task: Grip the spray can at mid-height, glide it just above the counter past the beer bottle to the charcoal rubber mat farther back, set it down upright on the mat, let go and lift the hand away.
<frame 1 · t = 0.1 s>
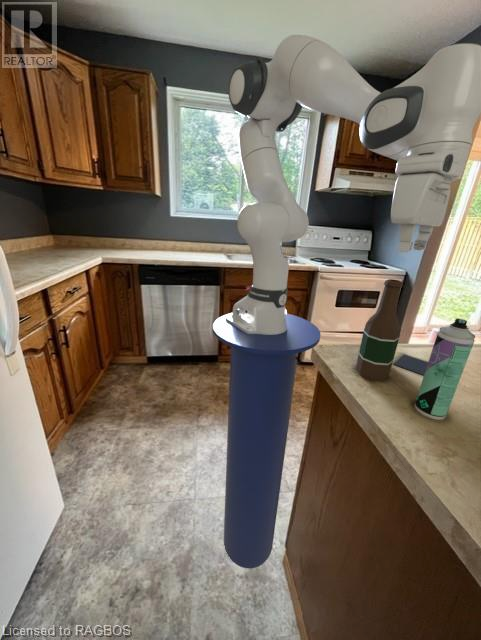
hand: (411, 250, 51), 31 cm above the countertop, tool pointing down, fingers open, 8 cm apart
sprinkles bottle: (376, 361, 76), on the countertop
mat: (418, 366, 74), on the countertop
beer bottle: (371, 373, 69), on the countertop
spray can: (429, 411, 56), on the countertop
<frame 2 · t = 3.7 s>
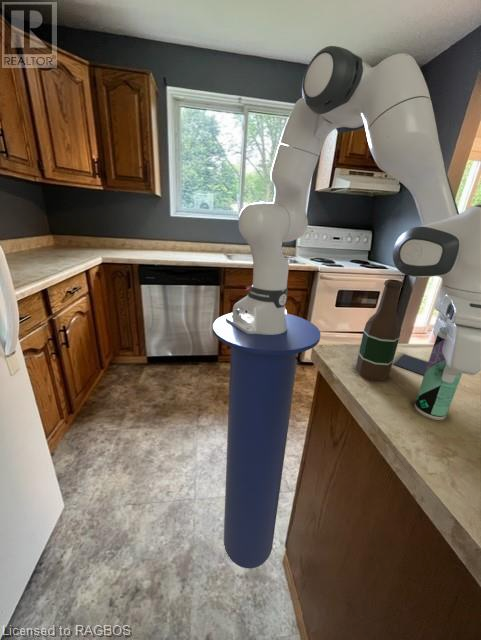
hand: (442, 372, 53), 9 cm above the countertop, tool pointing down, fingers closed on spray can, 5 cm apart
spray can: (429, 411, 56), on the countertop, touching gripper
everything else where it was.
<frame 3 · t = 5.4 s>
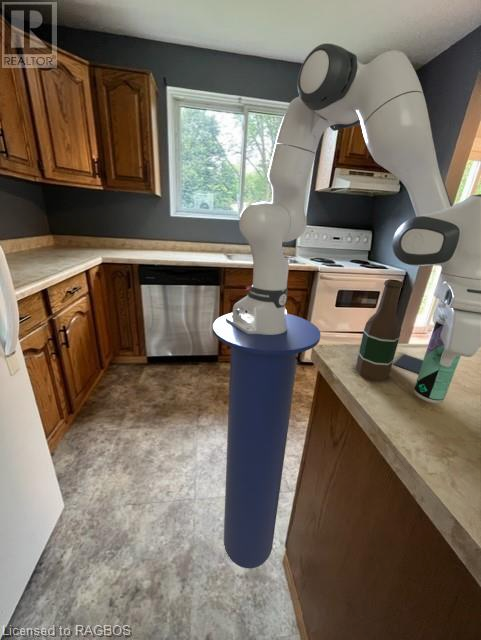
hand: (441, 357, 55), 11 cm above the countertop, tool pointing down, fingers closed on spray can, 5 cm apart
spray can: (427, 396, 58), point 2 cm above the countertop, touching gripper
everything else where it was.
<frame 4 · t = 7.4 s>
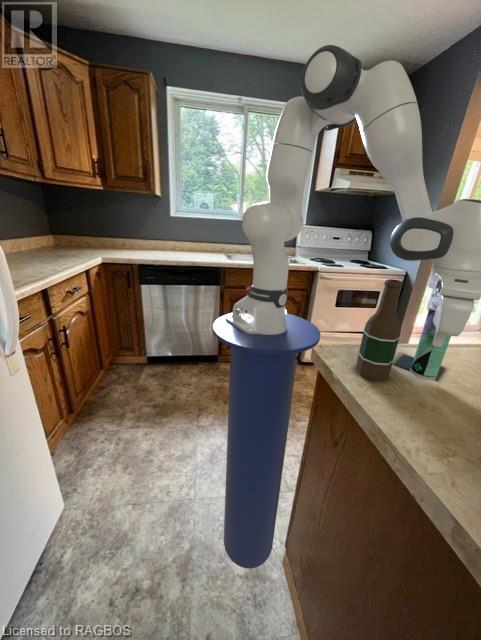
hand: (434, 340, 63), 11 cm above the countertop, tool pointing down, fingers closed on spray can, 5 cm apart
spray can: (422, 374, 66), point 2 cm above the countertop, touching gripper
everything else where it was.
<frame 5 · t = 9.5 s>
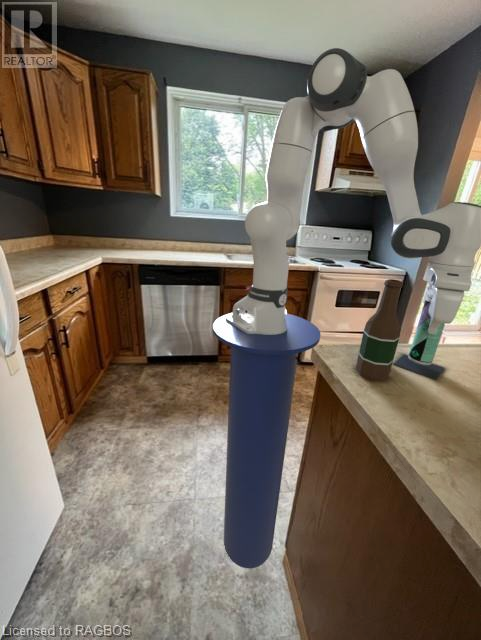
hand: (429, 328, 70), 11 cm above the countertop, tool pointing down, fingers closed on spray can, 5 cm apart
spray can: (419, 360, 73), point 2 cm above the countertop, touching gripper
everything else where it was.
when the fingers open (9 cm above the countertop, at t = 11.1 s): spray can stays where it is, resting on mat.
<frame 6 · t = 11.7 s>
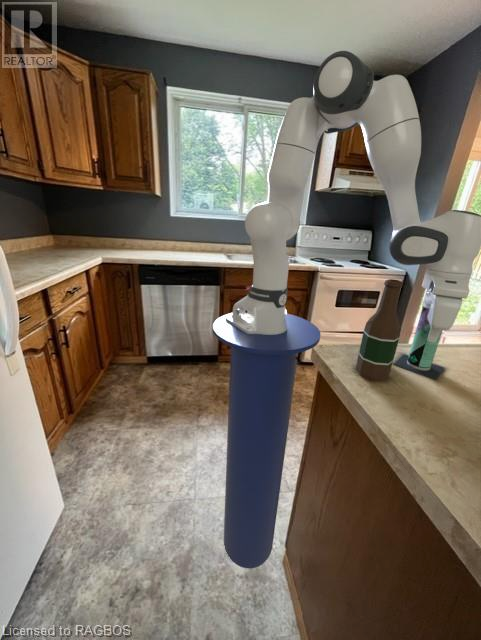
hand: (428, 334, 70), 9 cm above the countertop, tool pointing down, fingers open, 8 cm apart
spray can: (418, 366, 74), resting on mat
everything else where it was.
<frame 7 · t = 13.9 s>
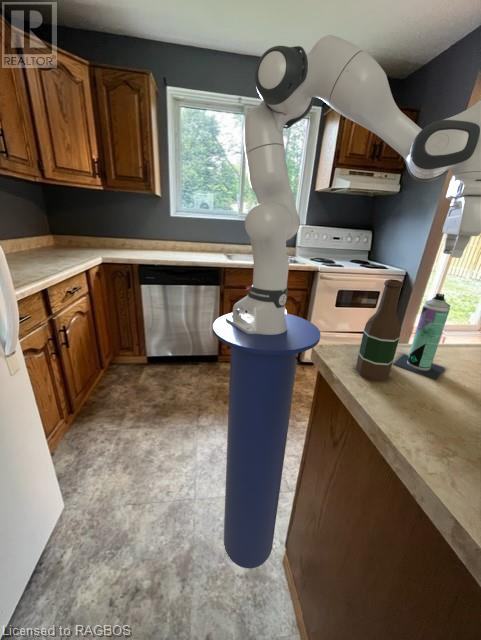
hand: (451, 255, 63), 30 cm above the countertop, tool pointing down, fingers open, 8 cm apart
nothing on the countertop moved.
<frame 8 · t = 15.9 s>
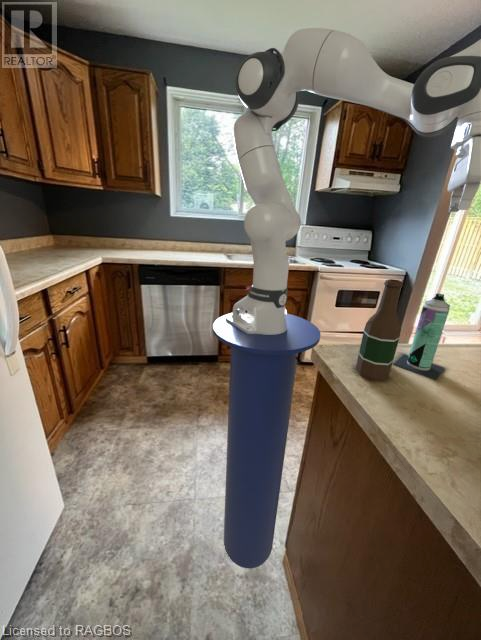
hand: (457, 211, 58), 39 cm above the countertop, tool pointing down, fingers open, 8 cm apart
nothing on the countertop moved.
at the end: spray can inside the target area on the mat (0.1 cm from its centre), point 0.0 cm above the mat's base; spray can tilted 0°; the gripper is holding nothing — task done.
